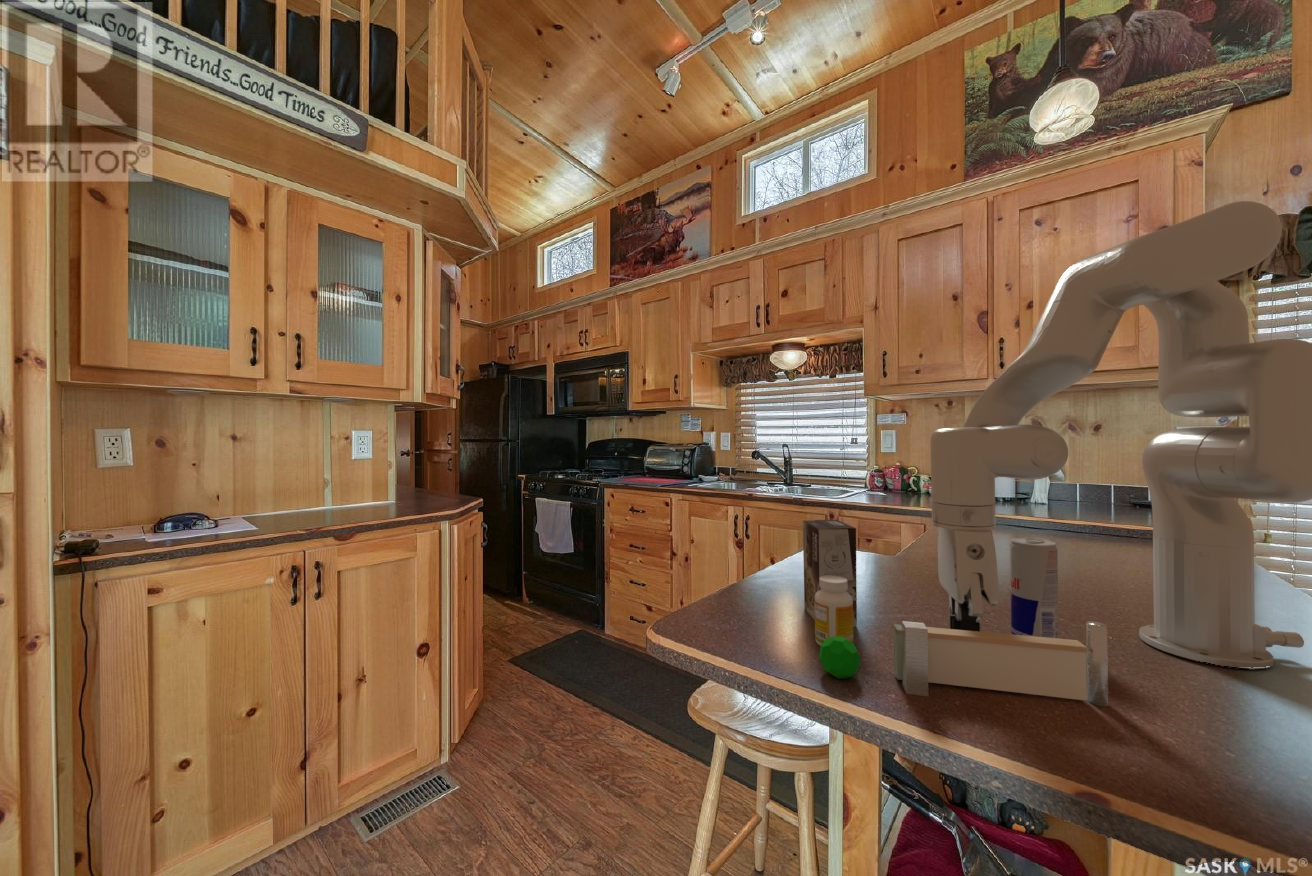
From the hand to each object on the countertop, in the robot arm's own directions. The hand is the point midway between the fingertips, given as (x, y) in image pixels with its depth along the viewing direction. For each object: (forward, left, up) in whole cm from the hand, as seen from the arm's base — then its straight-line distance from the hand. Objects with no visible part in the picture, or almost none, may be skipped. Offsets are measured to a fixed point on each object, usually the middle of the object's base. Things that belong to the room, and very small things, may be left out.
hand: (965, 646), depth 67 cm
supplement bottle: (+17, 0, -2) cm, 17 cm away
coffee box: (+17, -11, -2) cm, 21 cm away
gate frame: (-1, +10, -1) cm, 10 cm away
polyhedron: (+17, +10, -2) cm, 20 cm away
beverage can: (-12, -9, -2) cm, 15 cm away
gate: (+1, +9, -1) cm, 9 cm away
